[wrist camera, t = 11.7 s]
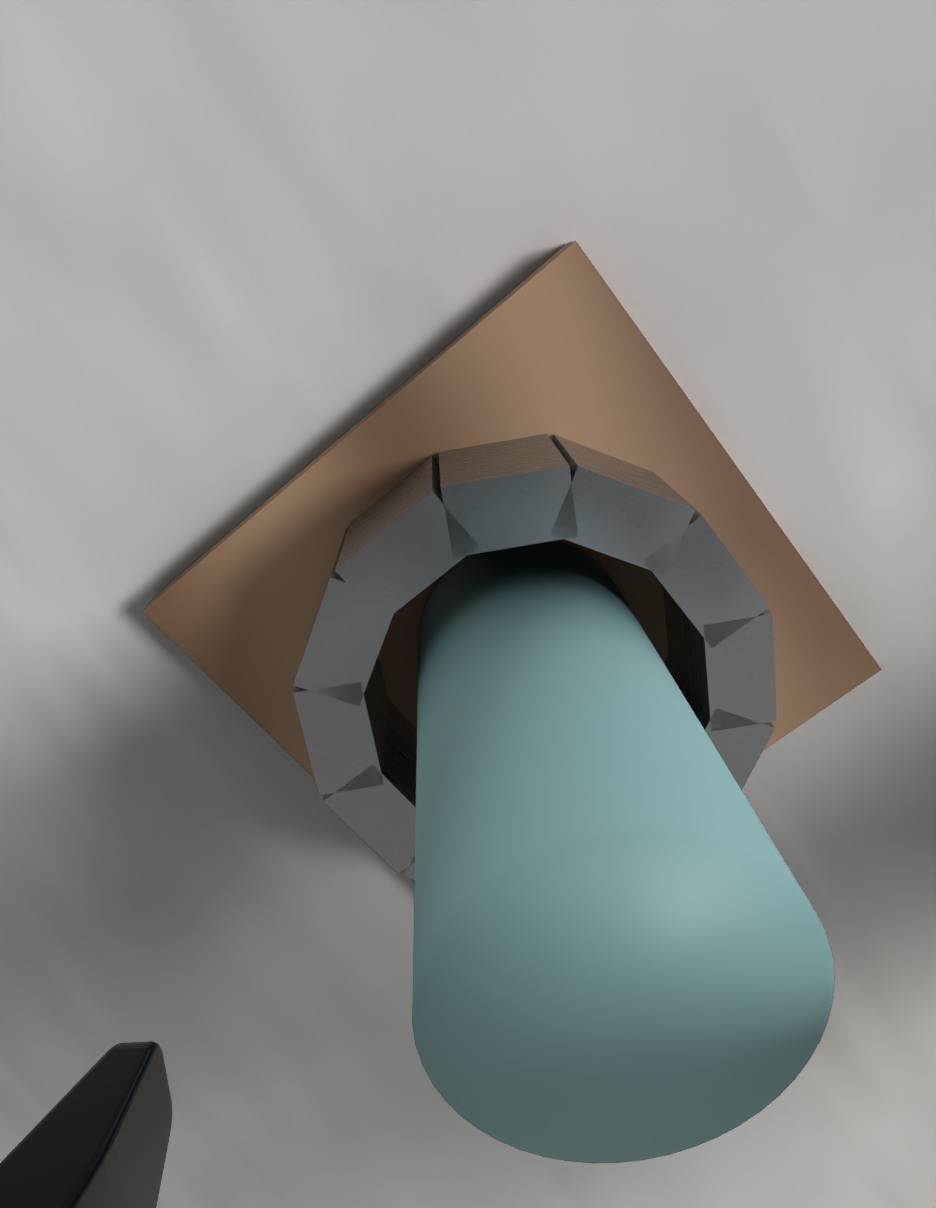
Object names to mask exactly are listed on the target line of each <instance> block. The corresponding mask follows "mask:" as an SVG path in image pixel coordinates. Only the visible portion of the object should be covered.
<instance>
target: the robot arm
mask: <svg viewBox="0 0 936 1208" xmlns="http://www.w3.org/2000/svg"><path fill="white" fill-rule="evenodd" d="M171 1123H172V1102H171V1096H170V1090H169V1085H168V1080H167V1074H166V1069H165V1063H164V1058H163V1053H162V1050H161V1048H160V1046H159V1044H157V1043H155V1042H133V1043H120V1044H117V1045H115V1046H114V1047H112V1048H111V1049H110V1050H109V1051H107V1053H106V1054H105V1055H104V1056H103V1057H102V1058H101V1059H100V1060H99V1061H98V1062H97V1063H96V1064H95V1065H94V1066H93V1067H92V1068H91V1069H90V1070H89V1071H88V1072H87V1073H86V1074H85V1075H84V1076H83V1078H82V1079H81V1080H80V1081H79V1082H78V1083H77V1084H76V1085H75V1086H74V1087H73V1088H72V1089H71V1090H70V1091H69V1092H68V1093H67V1094H66V1095H65V1096H64V1097H63V1098H62V1099H61V1100H60V1101H59V1102H58V1104H57V1105H56V1106H55V1107H54V1108H53V1109H52V1110H51V1111H50V1112H49V1113H48V1114H47V1115H46V1116H45V1117H44V1118H43V1119H42V1120H41V1121H40V1122H39V1123H38V1124H37V1125H36V1126H35V1127H34V1129H33V1130H32V1131H31V1132H30V1133H29V1134H28V1135H27V1136H26V1137H25V1138H24V1139H23V1140H22V1141H21V1142H20V1143H19V1144H18V1145H17V1146H16V1147H15V1148H14V1149H13V1150H12V1151H11V1152H10V1153H9V1155H8V1156H7V1157H6V1158H5V1159H4V1160H3V1161H2V1162H1V1163H0V1208H156V1206H157V1200H158V1195H159V1190H160V1184H161V1179H162V1174H163V1168H164V1163H165V1158H166V1152H167V1147H168V1142H169V1136H170V1131H171Z"/></svg>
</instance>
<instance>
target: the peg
mask: <svg viewBox="0 0 936 1208" xmlns="http://www.w3.org/2000/svg"><path fill="white" fill-rule="evenodd" d="M834 978H835V976H834V966H833V957H832V952H831V949H830V945H829V942H828V938H827V934H826V932H825V930H824V928H823V926H822V924H821V922H820V920H819V918H818V916H817V914H816V912H815V910H814V909H813V907H812V905H811V904H810V902H809V900H808V899H807V897H806V896H805V894H804V892H803V891H802V889H801V887H800V886H799V884H798V882H797V881H796V879H795V877H794V876H793V874H792V873H791V871H790V869H789V868H788V866H787V864H786V863H785V861H784V859H783V858H782V856H781V855H780V853H779V851H778V850H777V848H776V846H775V845H774V843H773V841H772V840H771V838H770V836H769V835H768V833H767V832H766V830H765V828H764V827H763V825H762V823H761V822H760V820H759V818H758V817H757V815H756V814H755V812H754V810H753V809H752V807H751V805H750V804H749V802H748V800H747V799H746V797H745V795H744V794H743V792H742V791H741V789H740V787H739V786H738V784H737V782H736V781H735V779H734V777H733V776H732V774H731V773H730V771H729V769H728V768H727V766H726V764H725V763H724V761H723V759H722V758H721V756H720V754H719V753H718V751H717V750H716V748H715V746H714V745H713V743H712V741H711V740H710V738H709V736H708V735H707V733H706V732H705V730H704V728H703V727H702V725H701V723H700V722H699V720H698V718H697V717H696V715H695V713H694V712H693V710H692V709H691V707H690V705H689V704H688V702H687V700H686V699H685V697H684V695H683V694H682V692H681V691H680V689H679V687H678V686H677V684H676V682H675V681H674V679H673V677H672V676H671V674H670V672H669V671H668V669H667V668H666V666H665V664H664V663H663V661H662V659H661V658H660V656H659V654H658V653H657V651H656V650H655V648H654V646H653V645H652V643H651V641H650V640H649V638H648V636H647V635H646V633H645V631H644V630H643V628H642V627H641V625H640V623H639V622H638V620H637V618H636V617H635V615H634V613H633V612H632V610H631V609H630V607H629V605H628V604H627V602H626V600H625V599H624V597H623V595H622V594H621V592H620V590H619V589H618V587H617V586H616V584H615V583H614V581H613V580H612V578H611V577H610V575H609V574H608V573H607V572H606V571H605V570H604V569H603V568H602V567H601V566H600V565H599V564H598V563H597V562H595V561H594V560H593V559H592V558H591V557H589V556H588V555H586V554H584V553H583V552H581V551H579V550H578V549H575V548H573V547H571V546H568V545H566V544H563V543H560V542H556V541H549V542H543V543H537V544H531V545H525V546H519V547H513V548H507V549H501V550H495V551H489V552H483V553H477V554H471V555H467V556H466V557H464V558H463V559H462V560H461V561H459V562H458V563H457V564H456V565H454V566H453V567H452V568H451V569H449V570H448V571H447V572H446V573H445V574H444V575H443V577H442V578H441V579H440V580H439V581H438V583H437V584H436V586H435V587H434V589H433V590H432V592H431V593H430V596H429V598H428V600H427V602H426V604H425V606H424V610H423V613H422V616H421V620H420V626H419V641H418V702H417V763H416V825H415V886H414V948H413V1009H412V1024H413V1031H414V1037H415V1044H416V1047H417V1050H418V1053H419V1056H420V1059H421V1062H422V1065H423V1067H424V1068H425V1070H426V1072H427V1074H428V1076H429V1078H430V1080H431V1082H432V1084H433V1085H434V1086H435V1088H436V1089H437V1090H438V1092H439V1093H440V1094H441V1096H442V1097H443V1098H444V1100H445V1101H446V1102H447V1103H448V1104H449V1105H450V1106H451V1107H452V1108H453V1109H454V1110H455V1111H456V1112H457V1113H458V1114H459V1115H460V1116H461V1117H463V1118H464V1119H465V1120H467V1121H468V1122H469V1123H471V1124H472V1125H473V1126H475V1127H476V1128H477V1129H479V1130H481V1131H482V1132H484V1133H486V1134H488V1135H489V1136H491V1137H493V1138H495V1139H496V1140H498V1141H500V1142H503V1143H505V1144H508V1145H510V1146H512V1147H515V1148H517V1149H519V1150H522V1151H526V1152H529V1153H533V1154H536V1155H539V1156H543V1157H548V1158H553V1159H559V1160H564V1161H572V1162H585V1163H620V1162H629V1161H639V1160H646V1159H651V1158H655V1157H660V1156H665V1155H669V1154H673V1153H676V1152H679V1151H683V1150H686V1149H689V1148H692V1147H695V1146H697V1145H700V1144H702V1143H705V1142H707V1141H710V1140H712V1139H714V1138H717V1137H719V1136H721V1135H723V1134H724V1133H726V1132H728V1131H730V1130H732V1129H734V1128H736V1127H738V1126H739V1125H741V1124H742V1123H744V1122H745V1121H747V1120H748V1119H750V1118H751V1117H753V1116H754V1115H756V1114H757V1113H759V1112H760V1111H761V1110H763V1109H764V1108H765V1107H766V1106H767V1105H769V1104H770V1103H771V1102H772V1101H773V1100H775V1099H776V1098H777V1097H778V1096H779V1095H780V1094H781V1093H782V1092H783V1091H784V1090H785V1089H786V1088H787V1087H788V1086H789V1085H790V1084H791V1083H792V1082H793V1081H794V1080H795V1078H796V1077H797V1076H798V1074H799V1073H800V1072H801V1070H802V1069H803V1068H804V1066H805V1065H806V1064H807V1062H808V1061H809V1059H810V1058H811V1056H812V1054H813V1052H814V1051H815V1049H816V1047H817V1045H818V1044H819V1042H820V1040H821V1037H822V1035H823V1032H824V1030H825V1027H826V1024H827V1022H828V1019H829V1015H830V1010H831V1006H832V1001H833V994H834Z"/></svg>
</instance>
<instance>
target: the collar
mask: <svg viewBox="0 0 936 1208" xmlns="http://www.w3.org/2000/svg"><path fill="white" fill-rule="evenodd" d="M561 539H565V540H568V541H570V542H573V543H576V544H579V545H582V546H584V547H587V548H590V549H593V550H595V551H598V552H601V553H604V554H606V555H609V556H612V557H615V558H618V559H620V560H623V561H626V562H629V563H631V564H634V565H637V566H640V567H643V568H645V569H648V570H651V571H652V572H653V574H654V575H655V576H656V577H657V579H658V580H659V581H660V582H661V584H662V585H663V596H664V607H665V618H666V629H667V640H668V651H669V653H668V655H667V657H666V659H665V661H664V664H665V666H666V668H667V669H668V671H669V672H670V674H671V676H672V677H673V679H674V681H675V682H676V684H677V686H678V687H679V689H680V691H681V692H682V694H683V695H684V697H685V699H686V700H687V702H688V704H689V705H690V707H691V709H692V710H693V712H694V713H695V715H696V717H697V718H698V720H699V722H700V723H701V725H702V727H703V728H704V730H705V732H706V733H707V735H708V736H709V738H710V740H711V741H712V743H713V745H714V746H715V748H716V750H717V751H718V753H719V754H720V756H721V758H722V759H723V761H724V763H725V764H726V766H727V768H728V769H729V771H730V773H731V774H732V776H733V777H734V779H735V781H736V782H737V784H738V786H739V787H740V789H741V790H742V788H743V786H744V784H745V782H746V781H747V779H748V777H749V775H750V773H751V772H752V770H753V768H754V766H755V764H756V762H757V761H758V759H759V757H760V755H761V753H762V752H763V750H764V748H765V746H766V744H767V743H768V741H769V739H770V737H771V735H772V733H773V732H774V730H775V727H774V725H773V724H772V723H771V722H773V721H777V704H776V682H775V660H774V637H773V615H772V613H771V612H770V611H769V610H768V609H767V608H769V607H770V606H769V605H768V603H767V602H766V601H765V599H764V598H763V597H762V595H761V594H760V593H759V591H758V590H757V589H756V587H755V586H754V585H753V583H752V582H751V581H750V579H749V578H748V577H747V575H746V574H745V572H744V571H743V570H742V568H741V567H740V566H739V564H738V563H737V562H736V560H735V559H734V558H733V556H732V555H731V554H730V552H729V551H728V550H727V548H726V547H725V546H724V544H723V543H722V542H721V540H720V539H719V538H718V536H717V535H716V533H715V532H714V531H713V529H712V528H711V527H710V525H709V524H708V523H707V521H706V520H705V519H704V517H703V516H702V515H701V514H700V513H699V512H698V511H697V510H696V509H694V508H693V507H692V506H691V505H690V504H689V503H688V502H687V501H686V500H684V499H683V498H682V497H681V496H680V495H679V494H678V493H677V492H676V491H674V490H673V489H672V488H671V487H670V486H669V485H668V484H667V483H666V482H664V481H663V480H662V479H661V478H660V477H659V476H657V475H656V474H655V473H654V472H652V471H649V470H647V469H644V468H641V467H639V466H636V465H633V464H631V463H628V462H626V461H623V460H620V459H618V458H615V457H612V456H610V455H607V454H605V453H602V452H599V451H597V450H594V449H591V448H589V447H586V446H584V445H581V444H578V443H576V442H573V441H570V440H568V439H565V438H562V437H560V436H557V435H555V434H554V436H553V438H552V440H551V439H550V438H549V436H548V435H547V434H541V435H535V436H530V437H524V438H518V439H512V440H506V441H500V442H494V443H488V444H482V445H476V446H471V447H465V448H459V449H453V450H447V451H441V452H439V463H438V462H437V461H436V459H435V458H434V457H433V456H432V455H431V456H430V457H429V458H428V459H426V460H425V461H424V462H423V463H422V464H420V465H419V466H418V467H417V468H416V469H414V470H413V471H412V472H411V473H410V474H408V475H407V476H406V477H405V478H404V479H402V480H401V481H400V482H399V483H397V484H396V485H395V486H394V487H393V488H391V489H390V490H389V491H388V492H387V493H385V494H384V495H383V496H382V497H381V498H379V499H378V500H377V501H376V502H375V503H373V504H372V505H371V506H370V507H369V508H367V509H366V510H365V511H364V512H362V513H361V514H360V515H359V516H358V517H356V518H355V519H354V520H353V521H352V522H350V525H349V528H348V529H346V530H345V533H344V536H343V539H342V542H341V545H340V547H339V550H338V553H337V556H336V559H335V562H334V565H333V568H332V571H331V574H330V577H329V579H328V582H327V585H326V588H325V591H324V594H323V597H322V600H321V603H320V606H319V609H318V611H317V614H316V617H315V620H314V623H313V626H312V629H311V632H310V635H309V638H308V641H307V644H306V648H305V651H304V654H303V657H302V660H301V663H300V666H299V669H298V672H297V675H296V678H295V681H294V684H293V685H294V686H295V688H294V691H293V696H294V699H295V703H296V707H297V711H298V715H299V719H300V723H301V727H302V731H303V735H304V738H305V742H306V746H307V750H308V754H309V758H310V762H311V766H312V770H313V773H314V777H315V781H316V785H317V789H318V793H319V795H324V798H323V802H324V803H325V804H326V805H327V806H328V807H329V808H330V809H331V810H332V811H333V812H334V813H335V814H336V815H337V816H338V817H339V818H340V819H342V820H343V821H344V822H345V823H346V824H347V825H348V826H349V827H350V828H351V829H352V830H353V831H354V832H355V833H356V834H357V835H358V836H359V837H360V838H361V839H362V840H363V841H364V842H365V843H366V844H368V845H369V846H370V847H371V848H372V849H373V850H374V851H375V852H376V853H377V854H378V855H379V856H380V857H381V858H382V859H383V860H384V861H385V862H386V863H387V864H388V865H389V866H390V867H391V868H393V869H394V870H395V871H396V872H397V873H398V874H399V873H400V872H402V871H403V870H404V869H405V878H408V879H411V880H415V825H416V763H417V728H416V727H415V726H414V725H413V724H412V723H411V722H410V721H409V720H408V719H407V718H406V717H405V716H404V715H403V714H402V713H401V711H400V710H399V709H398V708H397V707H396V706H395V705H394V704H393V703H392V702H391V701H390V700H389V699H388V694H387V690H386V685H385V680H384V676H383V671H382V667H381V662H380V657H379V652H380V649H381V646H382V644H383V641H384V638H385V636H386V633H387V630H388V628H389V625H390V622H391V620H392V617H393V614H394V613H395V612H396V611H398V610H399V609H400V608H401V607H403V606H404V605H405V604H406V603H408V602H409V601H410V600H411V599H413V598H414V597H415V596H417V595H418V594H419V593H420V592H422V591H423V590H424V589H425V588H427V587H428V586H429V585H430V584H432V583H433V582H434V581H435V580H437V579H438V578H439V577H441V576H442V575H443V574H444V573H446V572H447V571H448V570H449V569H451V568H452V567H453V566H454V565H456V564H457V563H458V562H459V561H461V560H462V559H463V558H464V557H466V556H467V555H471V554H477V553H483V552H489V551H495V550H501V549H507V548H513V547H519V546H525V545H531V544H537V543H543V542H549V541H555V540H561Z"/></svg>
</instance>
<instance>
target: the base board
mask: <svg viewBox="0 0 936 1208" xmlns="http://www.w3.org/2000/svg"><path fill="white" fill-rule="evenodd" d="M541 434H547V435H548V436H549V438H550V439H551V440H552V438H553V436H554V434H555V435H557V436H560V437H562V438H565V439H568V440H570V441H573V442H576V443H578V444H581V445H584V446H586V447H589V448H591V449H594V450H597V451H599V452H602V453H605V454H607V455H610V456H612V457H615V458H618V459H620V460H623V461H626V462H628V463H631V464H633V465H636V466H639V467H641V468H644V469H647V470H649V471H652V472H654V473H655V474H656V475H657V476H659V477H660V478H661V479H662V480H663V481H664V482H666V483H667V484H668V485H669V486H670V487H671V488H672V489H673V490H674V491H676V492H677V493H678V494H679V495H680V496H681V497H682V498H683V499H684V500H686V501H687V502H688V503H689V504H690V505H691V506H692V507H693V508H694V509H696V510H697V511H698V512H699V513H700V514H701V515H702V516H703V517H704V519H705V520H706V521H707V523H708V524H709V525H710V527H711V528H712V529H713V531H714V532H715V533H716V535H717V536H718V538H719V539H720V540H721V542H722V543H723V544H724V546H725V547H726V548H727V550H728V551H729V552H730V554H731V555H732V556H733V558H734V559H735V560H736V562H737V563H738V564H739V566H740V567H741V568H742V570H743V571H744V572H745V574H746V575H747V577H748V578H749V579H750V581H751V582H752V583H753V585H754V586H755V587H756V589H757V590H758V591H759V593H760V594H761V595H762V597H763V598H764V599H765V601H766V602H767V603H768V605H769V606H770V607H769V608H767V609H768V610H769V611H770V612H771V613H772V615H773V637H774V660H775V682H776V704H777V721H773V722H771V723H772V724H773V725H774V727H775V730H774V732H773V733H772V735H771V737H770V739H769V741H768V743H767V744H766V746H765V748H764V750H765V749H766V748H767V747H769V746H770V745H772V744H773V743H775V742H776V741H778V740H779V739H781V738H782V737H784V736H785V735H786V734H788V733H789V732H791V731H792V730H794V729H795V728H797V727H798V726H800V725H801V724H803V723H804V722H806V721H807V720H808V719H810V718H811V717H813V716H814V715H816V714H817V713H819V712H820V711H822V710H823V709H825V708H826V707H827V706H829V705H830V704H832V703H833V702H835V701H836V700H838V699H839V698H841V697H842V696H844V695H845V694H846V693H848V692H849V691H851V690H852V689H854V688H855V687H857V686H858V685H860V684H861V683H863V682H864V681H866V680H867V679H868V678H870V677H871V676H873V675H874V674H876V673H877V672H879V671H880V670H881V668H880V667H879V665H878V664H877V663H876V661H875V660H874V658H873V657H872V656H871V654H870V653H869V651H868V650H867V649H866V647H865V646H864V644H863V643H862V642H861V640H860V639H859V637H858V636H857V635H856V633H855V632H854V630H853V629H852V628H851V626H850V625H849V623H848V622H847V621H846V619H845V618H844V616H843V615H842V613H841V612H840V611H839V609H838V608H837V606H836V605H835V604H834V602H833V601H832V599H831V598H830V597H829V595H828V594H827V592H826V591H825V590H824V588H823V587H822V585H821V584H820V583H819V581H818V580H817V578H816V577H815V576H814V574H813V573H812V571H811V570H810V569H809V567H808V566H807V564H806V563H805V562H804V560H803V559H802V557H801V556H800V555H799V553H798V552H797V550H796V549H795V548H794V546H793V545H792V543H791V542H790V541H789V539H788V538H787V536H786V535H785V534H784V532H783V531H782V529H781V528H780V527H779V525H778V524H777V522H776V521H775V520H774V518H773V517H772V515H771V514H770V513H769V511H768V510H767V508H766V507H765V506H764V504H763V503H762V501H761V500H760V498H759V497H758V496H757V494H756V493H755V491H754V490H753V489H752V487H751V486H750V484H749V483H748V482H747V480H746V479H745V477H744V476H743V475H742V473H741V472H740V470H739V469H738V468H737V466H736V465H735V463H734V462H733V461H732V459H731V458H730V456H729V455H728V454H727V452H726V451H725V449H724V448H723V447H722V445H721V444H720V442H719V441H718V440H717V438H716V437H715V435H714V434H713V433H712V431H711V430H710V428H709V427H708V426H707V424H706V423H705V421H704V420H703V419H702V417H701V416H700V414H699V413H698V412H697V410H696V409H695V407H694V406H693V405H692V403H691V402H690V400H689V399H688V398H687V396H686V395H685V393H684V392H683V391H682V389H681V388H680V386H679V385H678V384H677V382H676V381H675V379H674V378H673V376H672V375H671V374H670V372H669V371H668V369H667V368H666V367H665V365H664V364H663V362H662V361H661V360H660V358H659V357H658V355H657V354H656V353H655V351H654V350H653V348H652V347H651V346H650V344H649V343H648V341H647V340H646V339H645V337H644V336H643V334H642V333H641V332H640V330H639V329H638V327H637V326H636V325H635V323H634V322H633V320H632V319H631V318H630V316H629V315H628V313H627V312H626V311H625V309H624V308H623V306H622V305H621V304H620V302H619V301H618V299H617V298H616V297H615V295H614V294H613V292H612V291H611V290H610V288H609V287H608V285H607V284H606V283H605V281H604V280H603V278H602V277H601V276H600V274H599V273H598V271H597V270H596V269H595V267H594V266H593V264H592V263H591V261H590V260H589V259H588V257H587V256H586V254H585V253H584V252H583V250H582V249H581V247H580V246H579V245H578V243H577V242H576V241H574V242H569V243H567V244H566V245H565V246H563V247H562V248H561V249H560V250H559V251H558V252H556V253H555V254H554V255H553V256H552V257H551V258H549V259H548V260H547V261H546V262H545V263H544V264H542V265H541V266H540V267H539V268H538V269H537V270H535V271H534V272H533V273H532V274H531V275H529V276H528V277H527V278H526V279H525V280H524V281H522V282H521V283H520V284H519V285H518V286H517V287H515V288H514V289H513V290H512V291H511V292H510V293H508V294H507V295H506V296H505V297H504V298H503V299H501V300H500V301H499V302H498V303H497V304H496V305H494V306H493V307H492V308H491V309H490V310H489V311H487V312H486V313H485V314H484V315H483V316H482V317H480V318H479V319H478V320H477V321H476V322H475V323H473V324H472V325H471V326H470V327H469V328H468V329H466V330H465V331H464V332H463V333H462V334H460V335H459V336H458V337H457V338H456V339H455V340H453V341H452V342H451V343H450V344H449V345H448V346H446V347H445V348H444V349H443V350H442V351H441V352H439V353H438V354H437V355H436V356H435V357H434V358H432V359H431V360H430V361H429V362H428V363H427V364H425V365H424V366H423V367H422V368H421V369H420V370H418V371H417V372H416V373H415V374H414V375H413V376H411V377H410V378H409V379H408V380H407V381H406V382H404V383H403V384H402V385H401V386H400V387H399V388H397V389H396V390H395V391H394V392H393V393H392V394H390V395H389V396H388V397H387V398H386V399H384V400H383V401H382V402H381V403H380V404H379V405H377V406H376V407H375V408H374V409H373V410H372V411H370V412H369V413H368V414H367V415H366V416H365V417H363V418H362V419H361V420H360V421H359V422H358V423H356V424H355V425H354V426H353V427H352V428H351V429H349V430H348V431H347V432H346V433H345V434H344V435H342V436H341V437H340V438H339V439H338V440H337V441H335V442H334V443H333V444H332V445H331V446H330V447H328V448H327V449H326V450H325V451H324V452H323V453H321V454H320V455H319V456H318V457H317V458H315V459H314V460H313V461H312V462H311V463H310V464H308V465H307V466H306V467H305V468H304V469H303V470H301V471H300V472H299V473H298V474H297V475H296V476H294V477H293V478H292V479H291V480H290V481H289V482H287V483H286V484H285V485H284V486H283V487H282V488H280V489H279V490H278V491H277V492H276V493H275V494H273V495H272V496H271V497H270V498H269V499H268V500H266V501H265V502H264V503H263V504H262V505H261V506H259V507H258V508H257V509H256V510H255V511H254V512H252V513H251V514H250V515H249V516H248V517H247V518H245V519H244V520H243V521H242V522H241V523H239V524H238V525H237V526H236V527H235V528H234V529H232V530H231V531H230V532H229V533H228V534H227V535H225V536H224V537H223V538H222V539H221V540H220V541H218V542H217V543H216V544H215V545H214V546H213V547H211V548H210V549H209V550H208V551H207V552H206V553H204V554H203V555H202V556H201V557H200V558H199V559H197V560H196V561H195V562H194V563H193V564H192V565H190V566H189V567H188V568H187V569H186V570H185V571H183V572H182V573H181V574H180V575H179V576H178V577H176V578H175V579H174V580H173V581H172V582H171V583H169V584H168V585H167V586H166V587H165V588H163V589H162V590H161V591H160V592H159V593H158V594H156V596H155V597H154V598H153V599H152V600H151V601H150V603H149V604H148V605H147V606H146V607H145V609H144V610H143V611H142V612H143V613H144V614H145V615H146V616H147V617H148V618H149V619H150V620H151V621H152V622H153V623H154V624H155V625H156V626H157V627H158V628H159V629H160V630H161V631H162V632H164V633H165V634H166V635H167V636H168V637H169V638H170V639H171V640H172V641H173V642H174V643H175V644H176V645H177V646H178V647H179V648H180V649H181V650H182V651H183V652H184V653H185V654H186V655H187V656H188V657H189V658H190V659H191V660H192V661H193V662H195V663H196V664H197V665H198V666H199V667H200V668H201V669H202V670H203V671H204V672H205V673H206V674H207V675H208V676H209V677H210V678H211V679H212V680H213V681H214V682H215V683H216V684H217V685H218V686H219V687H220V688H221V689H222V690H223V691H224V692H225V693H227V694H228V695H229V696H230V697H231V698H232V699H233V700H234V701H235V702H236V703H237V704H238V705H239V706H240V707H241V708H242V709H243V710H244V711H245V712H246V713H247V714H248V715H249V716H250V717H251V718H252V719H253V720H254V721H255V722H256V723H258V724H259V725H260V726H261V727H262V728H263V729H264V730H265V731H266V732H267V733H268V734H269V735H270V736H271V737H272V738H273V739H274V740H275V741H276V742H277V743H278V744H279V745H280V746H281V747H282V748H283V749H284V750H285V751H286V752H287V753H289V754H290V755H291V756H292V757H293V758H294V759H295V760H296V761H297V762H298V763H299V764H300V765H301V766H302V767H303V768H304V769H305V770H306V771H307V772H308V773H309V774H310V775H311V776H312V777H313V778H314V779H315V777H314V773H313V770H312V766H311V762H310V758H309V754H308V750H307V746H306V742H305V738H304V735H303V731H302V727H301V723H300V719H299V715H298V711H297V707H296V703H295V699H294V696H293V691H294V688H295V686H294V685H293V684H294V681H295V678H296V675H297V672H298V669H299V666H300V663H301V660H302V657H303V654H304V651H305V648H306V644H307V641H308V638H309V635H310V632H311V629H312V626H313V623H314V620H315V617H316V614H317V611H318V609H319V606H320V603H321V600H322V597H323V594H324V591H325V588H326V585H327V582H328V579H329V577H330V574H331V571H332V568H333V565H334V562H335V559H336V556H337V553H338V550H339V547H340V545H341V542H342V539H343V536H344V533H345V530H346V529H348V528H349V525H350V522H352V521H353V520H354V519H355V518H356V517H358V516H359V515H360V514H361V513H362V512H364V511H365V510H366V509H367V508H369V507H370V506H371V505H372V504H373V503H375V502H376V501H377V500H378V499H379V498H381V497H382V496H383V495H384V494H385V493H387V492H388V491H389V490H390V489H391V488H393V487H394V486H395V485H396V484H397V483H399V482H400V481H401V480H402V479H404V478H405V477H406V476H407V475H408V474H410V473H411V472H412V471H413V470H414V469H416V468H417V467H418V466H419V465H420V464H422V463H423V462H424V461H425V460H426V459H428V458H429V457H430V456H431V455H432V456H433V457H434V458H435V459H436V461H437V462H438V463H439V452H441V451H447V450H453V449H459V448H465V447H471V446H476V445H482V444H488V443H494V442H500V441H506V440H512V439H518V438H524V437H530V436H535V435H541ZM555 541H556V542H560V543H563V544H566V545H568V546H571V547H573V548H575V549H578V550H579V551H581V552H583V553H584V554H586V555H588V556H589V557H591V558H592V559H593V560H594V561H595V562H597V563H598V564H599V565H600V566H601V567H602V568H603V569H604V570H605V571H606V572H607V573H608V574H609V575H610V577H611V578H612V580H613V581H614V583H615V584H616V586H617V587H618V589H619V590H620V592H621V594H622V595H623V597H624V599H625V600H626V602H627V604H628V605H629V607H630V609H631V610H632V612H633V613H634V615H635V617H636V618H637V620H638V622H639V623H640V625H641V627H642V628H643V630H644V631H645V633H646V635H647V636H648V638H649V640H650V641H651V643H652V645H653V646H654V648H655V650H656V651H657V653H658V654H659V656H660V658H661V659H662V661H663V663H664V661H665V659H666V657H667V655H668V653H669V651H668V640H667V629H666V618H665V607H664V596H663V585H662V584H661V582H660V581H659V580H658V579H657V577H656V576H655V575H654V574H653V572H652V571H651V570H648V569H645V568H643V567H640V566H637V565H634V564H631V563H629V562H626V561H623V560H620V559H618V558H615V557H612V556H609V555H606V554H604V553H601V552H598V551H595V550H593V549H590V548H587V547H584V546H582V545H579V544H576V543H573V542H570V541H568V540H565V539H561V540H555ZM444 574H445V573H444ZM444 574H443V575H444ZM443 575H442V576H441V577H439V578H438V579H437V580H435V581H434V582H433V583H432V584H430V585H429V586H428V587H427V588H425V589H424V590H423V591H422V592H420V593H419V594H418V595H417V596H415V597H414V598H413V599H411V600H410V601H409V602H408V603H406V604H405V605H404V606H403V607H401V608H400V609H399V610H398V611H396V612H395V613H394V614H393V617H392V620H391V622H390V625H389V628H388V630H387V633H386V636H385V638H384V641H383V644H382V646H381V649H380V652H379V657H380V662H381V667H382V671H383V676H384V680H385V685H386V690H387V694H388V699H389V700H390V701H391V702H392V703H393V704H394V705H395V706H396V707H397V708H398V709H399V710H400V711H401V713H402V714H403V715H404V716H405V717H406V718H407V719H408V720H409V721H410V722H411V723H412V724H413V725H414V726H415V727H416V728H417V702H418V641H419V626H420V620H421V616H422V613H423V610H424V606H425V604H426V602H427V600H428V598H429V596H430V593H431V592H432V590H433V589H434V587H435V586H436V584H437V583H438V581H439V580H440V579H441V578H442V577H443Z"/></svg>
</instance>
